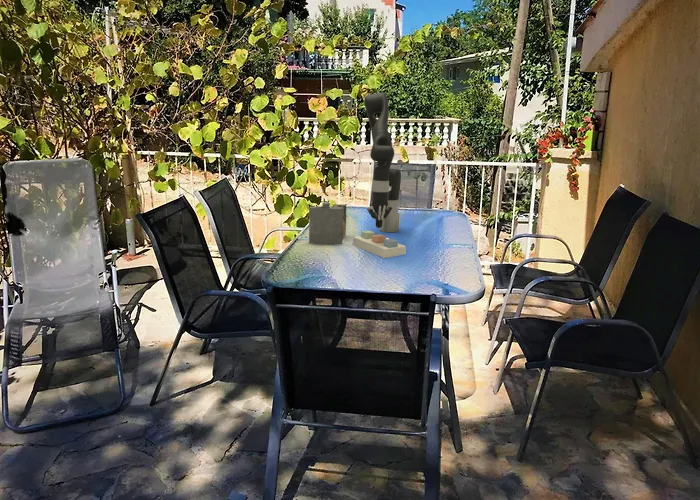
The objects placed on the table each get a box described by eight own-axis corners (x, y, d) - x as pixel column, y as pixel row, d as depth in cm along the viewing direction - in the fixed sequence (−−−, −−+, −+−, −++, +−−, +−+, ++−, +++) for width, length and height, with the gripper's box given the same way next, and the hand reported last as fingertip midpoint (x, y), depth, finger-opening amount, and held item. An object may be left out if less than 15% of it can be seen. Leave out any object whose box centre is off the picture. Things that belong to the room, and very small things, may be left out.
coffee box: (333, 234, 276) (334, 203, 272) (346, 235, 275) (346, 204, 271) (329, 238, 268) (330, 207, 264) (342, 239, 267) (343, 207, 262)
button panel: (373, 242, 263) (373, 234, 262) (405, 254, 243) (406, 246, 242) (352, 245, 257) (352, 236, 256) (384, 258, 236) (384, 249, 235)
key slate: (391, 244, 245) (391, 238, 244) (397, 246, 241) (398, 240, 240) (383, 245, 242) (383, 239, 242) (389, 248, 239) (389, 241, 238)
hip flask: (341, 242, 261) (342, 202, 256) (342, 244, 257) (343, 203, 252) (309, 242, 260) (309, 201, 255) (308, 244, 256) (309, 202, 251)
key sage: (368, 236, 259) (369, 230, 258) (374, 238, 255) (374, 232, 255) (361, 237, 257) (361, 231, 256) (366, 239, 253) (366, 233, 252)
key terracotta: (379, 240, 252) (380, 234, 251) (385, 242, 248) (386, 236, 247) (371, 241, 249) (372, 235, 249) (377, 243, 246) (377, 237, 245)
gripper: (387, 188, 249) (385, 224, 254) (363, 189, 242) (362, 227, 247) (397, 190, 243) (395, 227, 247) (373, 192, 236) (371, 230, 240)
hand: (378, 227), depth 247 cm, fingers closed
